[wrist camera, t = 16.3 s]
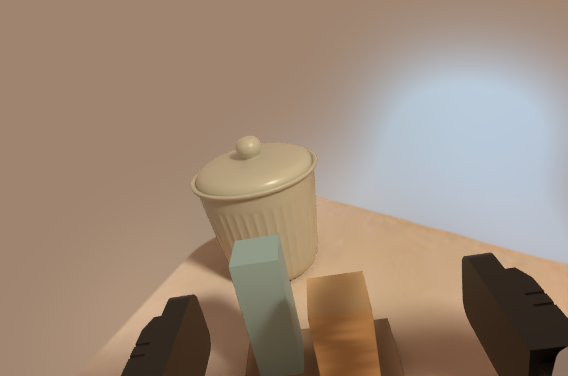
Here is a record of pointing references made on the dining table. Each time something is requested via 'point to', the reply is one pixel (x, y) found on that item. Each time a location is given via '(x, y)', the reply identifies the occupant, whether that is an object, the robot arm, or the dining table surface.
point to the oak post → (342, 325)
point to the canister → (263, 198)
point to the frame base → (284, 315)
